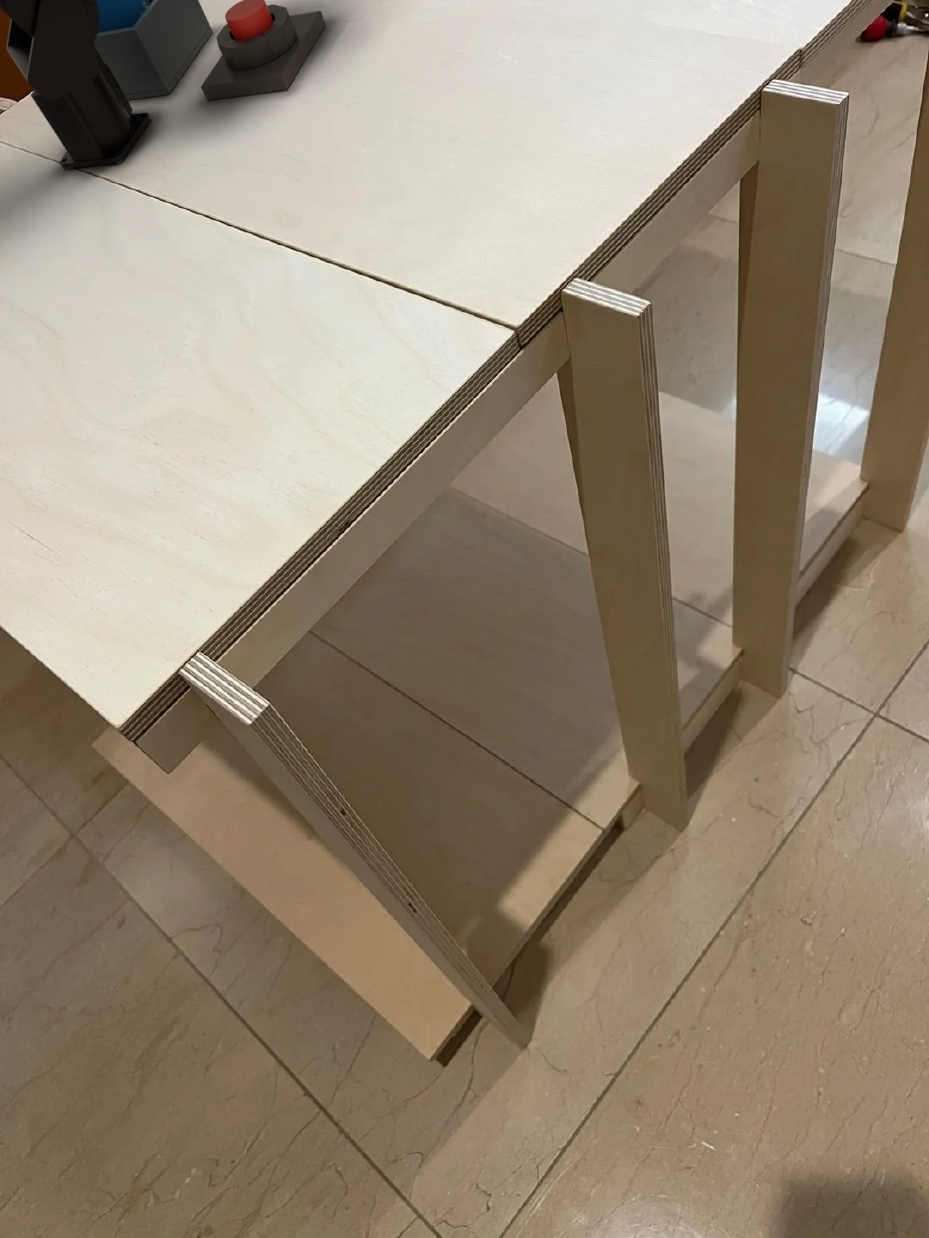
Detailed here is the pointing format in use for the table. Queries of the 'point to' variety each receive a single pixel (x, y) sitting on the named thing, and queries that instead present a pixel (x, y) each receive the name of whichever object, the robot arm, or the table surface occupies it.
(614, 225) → the table surface
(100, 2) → the beverage can
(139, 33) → the basket
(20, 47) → the robot arm
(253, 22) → the button
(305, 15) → the panel
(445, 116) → the table surface
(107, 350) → the table surface
